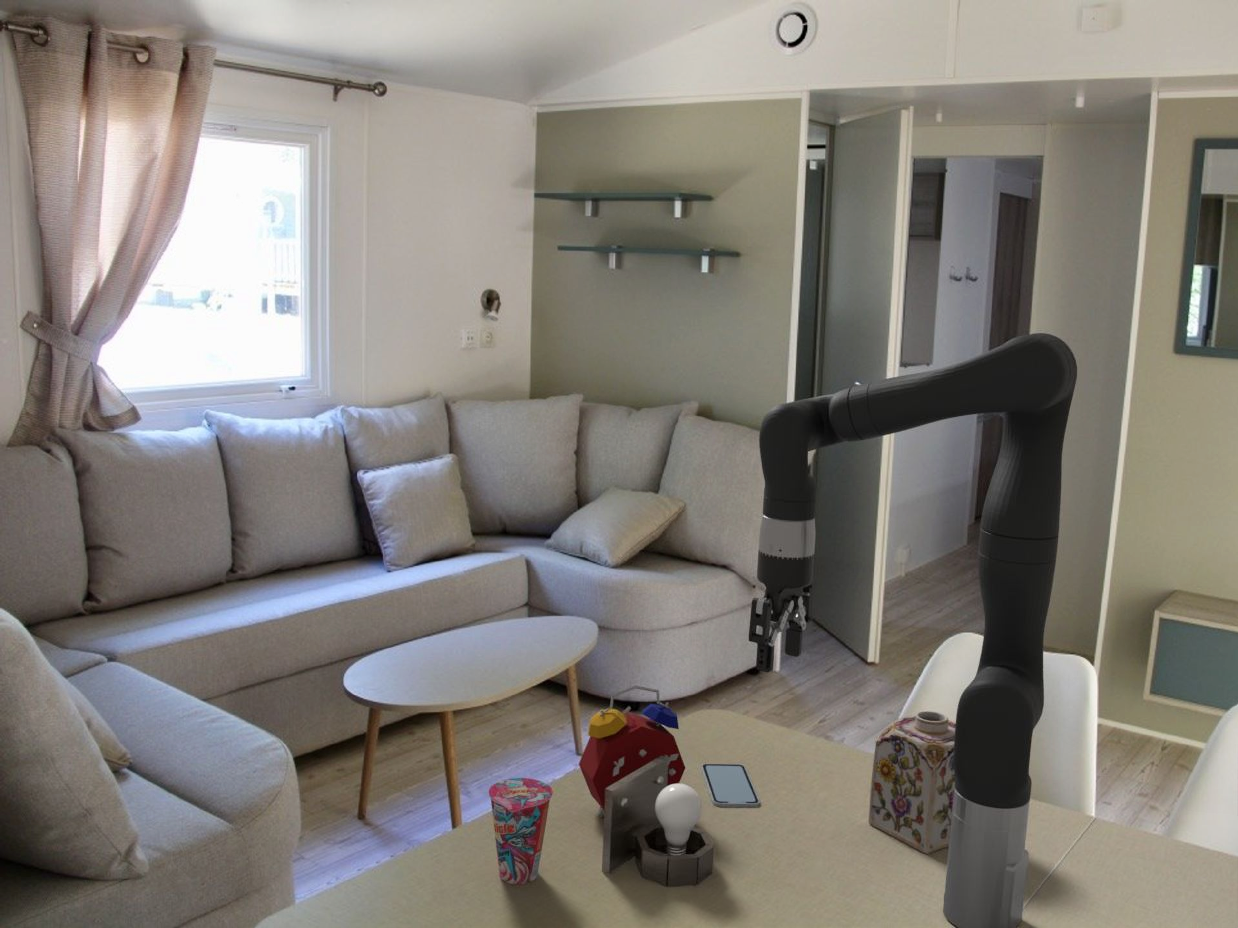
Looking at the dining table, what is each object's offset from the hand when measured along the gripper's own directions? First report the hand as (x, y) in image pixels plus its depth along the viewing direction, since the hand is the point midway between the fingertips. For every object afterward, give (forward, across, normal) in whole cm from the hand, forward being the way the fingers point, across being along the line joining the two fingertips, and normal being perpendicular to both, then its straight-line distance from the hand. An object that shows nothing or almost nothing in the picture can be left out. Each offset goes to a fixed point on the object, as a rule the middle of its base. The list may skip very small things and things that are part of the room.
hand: (778, 662), depth 170 cm
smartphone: (+29, +16, +15) cm, 36 cm away
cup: (+28, -27, +23) cm, 45 cm away
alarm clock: (+28, -3, +21) cm, 35 cm away
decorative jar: (+28, +21, -15) cm, 38 cm away
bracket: (+28, -12, +9) cm, 32 cm away
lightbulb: (+27, -12, +8) cm, 31 cm away
